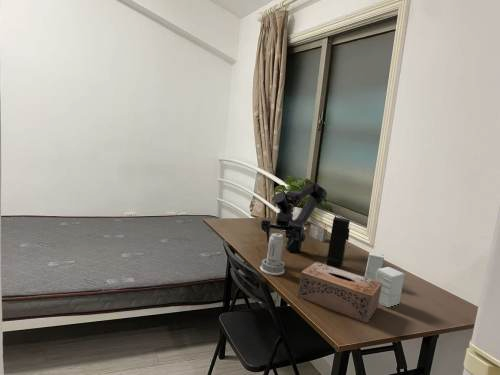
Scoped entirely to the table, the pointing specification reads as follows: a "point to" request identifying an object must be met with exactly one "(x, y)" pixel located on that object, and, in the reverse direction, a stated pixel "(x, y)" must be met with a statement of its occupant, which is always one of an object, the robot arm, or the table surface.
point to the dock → (272, 268)
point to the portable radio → (338, 242)
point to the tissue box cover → (340, 290)
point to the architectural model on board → (318, 232)
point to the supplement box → (390, 285)
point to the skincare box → (373, 265)
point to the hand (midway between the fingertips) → (277, 244)
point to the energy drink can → (275, 249)
